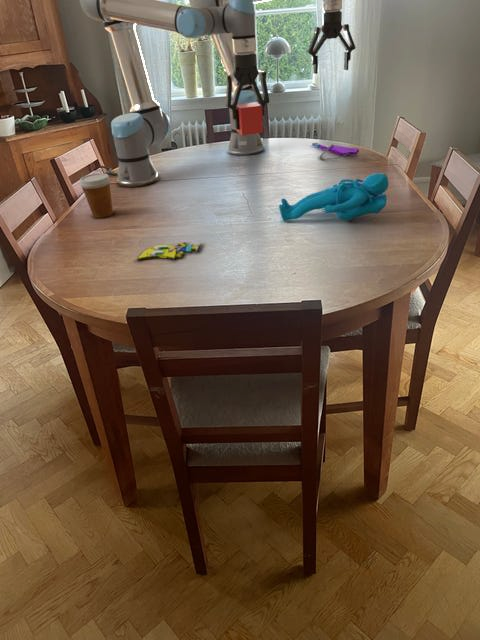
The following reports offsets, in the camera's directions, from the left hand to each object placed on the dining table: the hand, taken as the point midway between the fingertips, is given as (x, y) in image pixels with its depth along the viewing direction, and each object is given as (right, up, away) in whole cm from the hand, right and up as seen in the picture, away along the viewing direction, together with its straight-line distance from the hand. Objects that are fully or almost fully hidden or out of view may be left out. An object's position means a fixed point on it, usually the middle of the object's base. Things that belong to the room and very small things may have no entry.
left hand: (249, 127), depth 169 cm
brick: (0, -1, +1) cm, 2 cm away
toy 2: (+23, -39, -31) cm, 55 cm away
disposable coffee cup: (-48, -34, -13) cm, 60 cm away
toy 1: (-22, -50, -42) cm, 69 cm away
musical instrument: (+33, 0, +27) cm, 43 cm away
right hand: (+35, +36, +31) cm, 59 cm away
